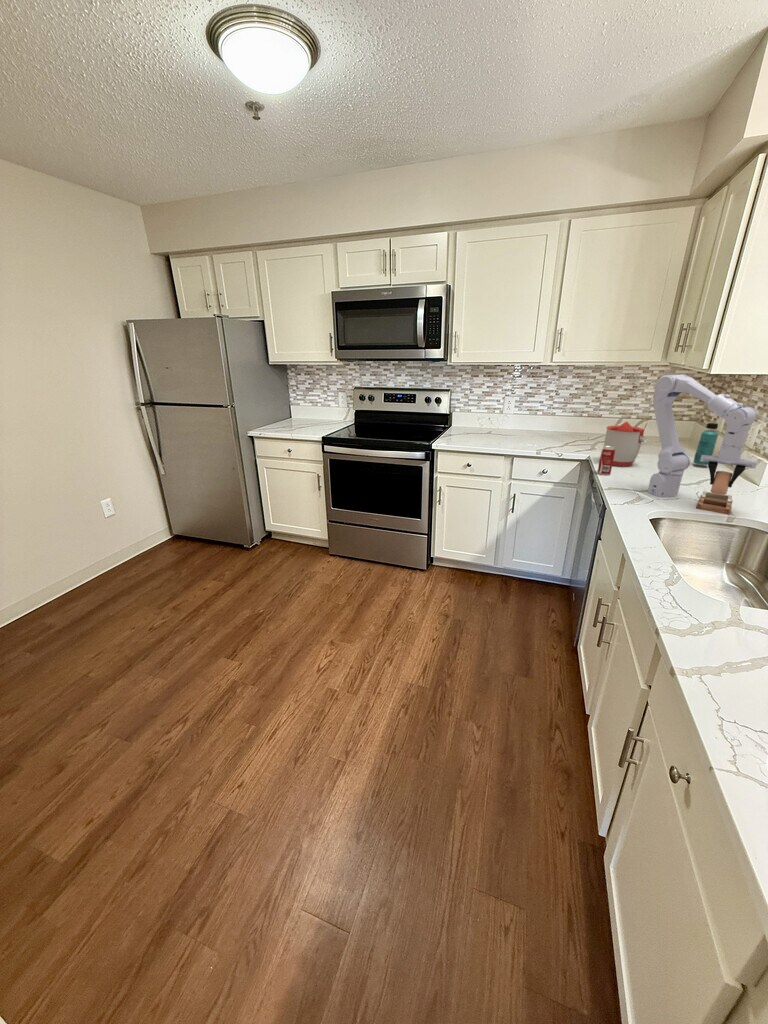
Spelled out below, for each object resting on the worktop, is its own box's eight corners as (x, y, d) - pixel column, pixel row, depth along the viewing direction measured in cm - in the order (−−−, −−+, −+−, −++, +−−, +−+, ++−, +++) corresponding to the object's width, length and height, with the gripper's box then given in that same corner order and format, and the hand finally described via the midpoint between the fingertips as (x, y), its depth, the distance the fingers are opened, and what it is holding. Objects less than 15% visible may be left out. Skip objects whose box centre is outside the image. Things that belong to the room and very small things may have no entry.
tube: (718, 494, 141) (724, 474, 138) (707, 490, 145) (712, 471, 142) (729, 494, 141) (736, 474, 139) (718, 490, 145) (724, 470, 143)
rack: (729, 517, 139) (731, 510, 138) (694, 510, 145) (696, 504, 144) (731, 502, 152) (733, 495, 151) (700, 496, 158) (702, 490, 157)
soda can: (599, 471, 190) (604, 445, 185) (611, 473, 187) (617, 446, 182) (595, 474, 186) (600, 447, 181) (608, 476, 183) (614, 449, 178)
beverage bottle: (693, 463, 201) (705, 421, 194) (710, 466, 197) (723, 423, 189) (690, 466, 197) (702, 423, 190) (707, 469, 192) (720, 425, 185)
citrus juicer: (635, 470, 191) (645, 426, 183) (595, 464, 202) (603, 422, 194) (644, 463, 201) (654, 421, 194) (605, 457, 212) (613, 417, 205)
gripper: (704, 444, 138) (693, 483, 143) (761, 450, 130) (747, 492, 135) (706, 441, 143) (695, 479, 148) (761, 446, 135) (748, 487, 140)
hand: (720, 485), depth 142 cm, fingers closed on tube, 4 cm apart
